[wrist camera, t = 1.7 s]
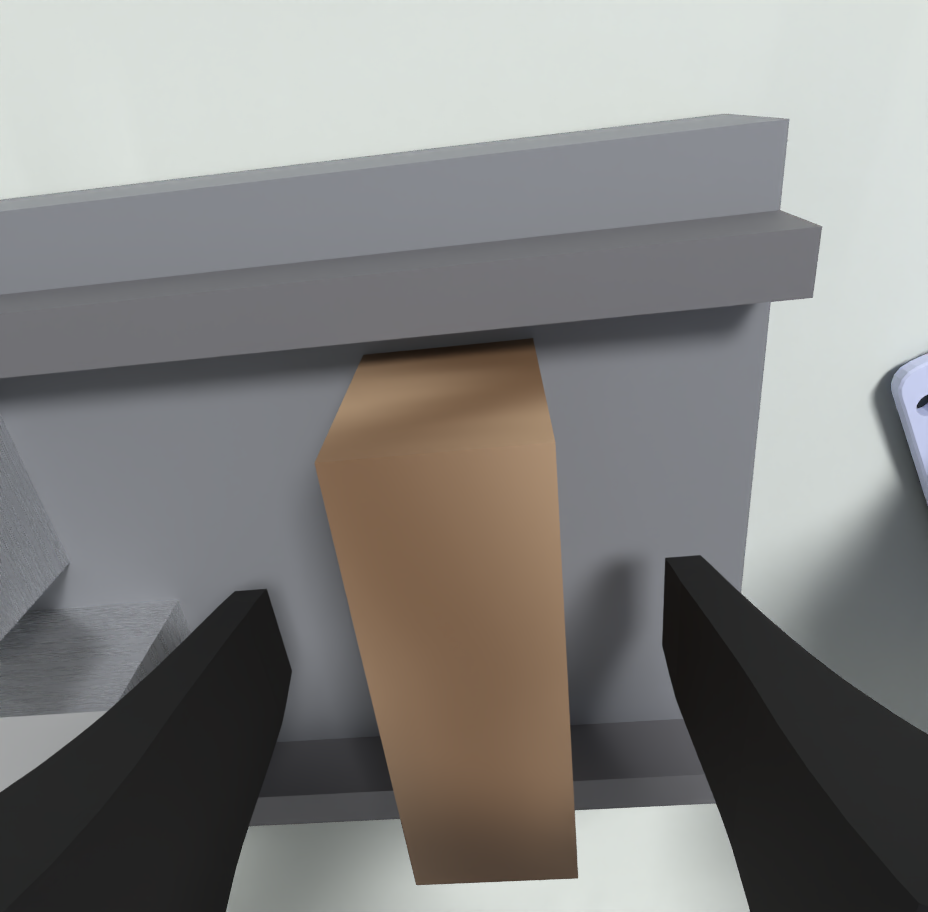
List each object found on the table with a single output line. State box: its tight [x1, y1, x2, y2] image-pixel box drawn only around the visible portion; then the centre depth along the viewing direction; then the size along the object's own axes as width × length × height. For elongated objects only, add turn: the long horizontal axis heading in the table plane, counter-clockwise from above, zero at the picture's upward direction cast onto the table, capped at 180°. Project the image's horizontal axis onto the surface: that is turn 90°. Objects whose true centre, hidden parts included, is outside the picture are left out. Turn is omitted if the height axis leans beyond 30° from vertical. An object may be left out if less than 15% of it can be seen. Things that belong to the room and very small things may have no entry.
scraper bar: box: [315, 338, 578, 885], centre depth 12 cm, size 3×9×4 cm, turn 6°
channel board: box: [0, 114, 822, 826], centre depth 15 cm, size 20×15×4 cm
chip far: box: [0, 600, 191, 792], centre depth 14 cm, size 4×4×3 cm
